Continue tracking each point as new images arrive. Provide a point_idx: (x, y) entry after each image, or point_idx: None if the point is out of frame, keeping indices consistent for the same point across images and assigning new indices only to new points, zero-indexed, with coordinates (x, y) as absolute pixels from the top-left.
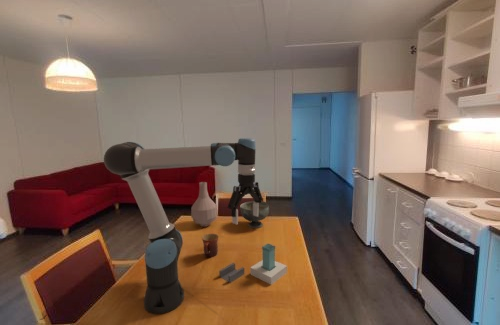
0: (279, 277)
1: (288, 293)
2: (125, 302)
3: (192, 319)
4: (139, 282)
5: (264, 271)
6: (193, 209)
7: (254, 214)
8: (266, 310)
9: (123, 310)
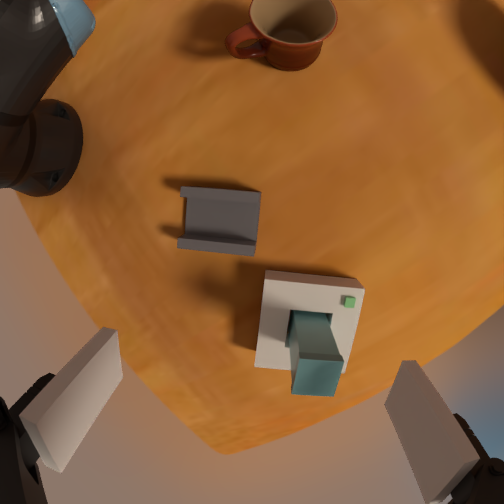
0: None
1: (255, 395)
2: None
3: (51, 255)
4: None
5: (272, 334)
6: None
7: (400, 383)
8: (169, 378)
9: None
